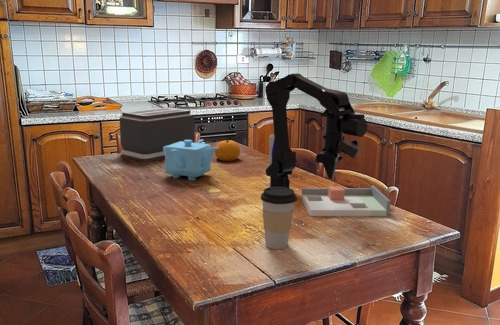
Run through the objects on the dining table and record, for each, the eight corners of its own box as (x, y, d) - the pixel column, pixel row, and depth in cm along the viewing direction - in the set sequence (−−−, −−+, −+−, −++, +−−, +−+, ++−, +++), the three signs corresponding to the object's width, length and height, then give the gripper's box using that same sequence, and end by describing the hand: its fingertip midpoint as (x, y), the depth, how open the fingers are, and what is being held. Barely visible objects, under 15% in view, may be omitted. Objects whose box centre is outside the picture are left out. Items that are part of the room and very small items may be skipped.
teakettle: (160, 172, 196) (159, 137, 192) (204, 168, 203) (204, 134, 199) (172, 184, 179) (171, 146, 175) (219, 180, 186) (219, 143, 183)
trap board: (310, 216, 149) (311, 200, 147) (301, 199, 165) (302, 185, 164) (389, 216, 150) (390, 201, 149) (372, 199, 167) (373, 185, 165)
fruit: (239, 162, 215) (239, 141, 213) (213, 162, 215) (213, 140, 213) (240, 156, 226) (240, 136, 224) (215, 156, 227) (215, 135, 224)
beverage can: (279, 171, 202) (280, 136, 198) (267, 170, 203) (268, 135, 199) (281, 168, 206) (282, 134, 203) (269, 167, 207) (270, 133, 204)
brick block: (330, 200, 158) (331, 190, 157) (327, 196, 162) (328, 186, 162) (343, 200, 158) (344, 190, 157) (340, 196, 163) (341, 186, 162)
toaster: (199, 150, 239) (199, 109, 234) (145, 162, 212) (143, 116, 207) (173, 145, 250) (172, 106, 245) (118, 155, 224) (116, 112, 219)
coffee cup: (257, 238, 131) (258, 185, 127) (291, 237, 131) (293, 185, 128) (261, 252, 121) (262, 196, 118) (297, 252, 122) (300, 196, 119)
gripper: (353, 139, 140) (349, 190, 144) (364, 129, 157) (360, 175, 161) (316, 135, 144) (313, 185, 148) (331, 126, 161) (328, 171, 165)
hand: (330, 179), depth 155 cm, fingers closed
